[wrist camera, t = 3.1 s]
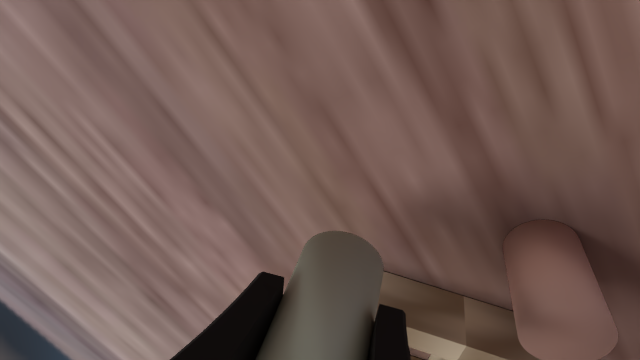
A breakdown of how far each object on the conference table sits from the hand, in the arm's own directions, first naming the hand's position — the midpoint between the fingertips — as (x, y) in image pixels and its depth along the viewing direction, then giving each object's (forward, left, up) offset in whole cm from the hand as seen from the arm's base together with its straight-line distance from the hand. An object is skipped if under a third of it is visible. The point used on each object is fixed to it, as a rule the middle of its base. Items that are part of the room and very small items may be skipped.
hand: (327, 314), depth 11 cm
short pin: (-7, 0, -6) cm, 9 cm away
